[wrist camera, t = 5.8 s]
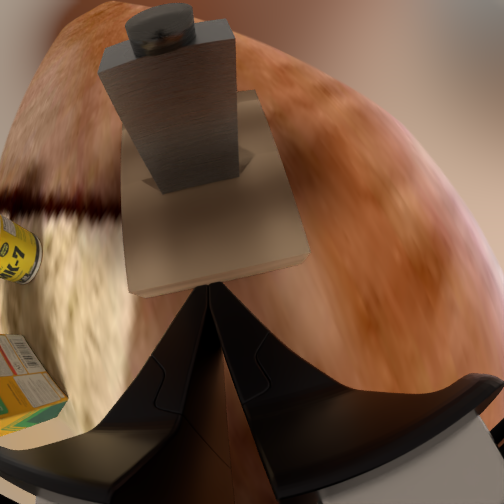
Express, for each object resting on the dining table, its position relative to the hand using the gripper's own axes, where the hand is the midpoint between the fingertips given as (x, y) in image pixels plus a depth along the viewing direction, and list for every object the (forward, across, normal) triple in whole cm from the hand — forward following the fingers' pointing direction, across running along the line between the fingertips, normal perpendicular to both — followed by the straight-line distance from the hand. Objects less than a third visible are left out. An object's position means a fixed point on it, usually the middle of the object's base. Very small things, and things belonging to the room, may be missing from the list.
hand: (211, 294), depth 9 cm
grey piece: (+11, 0, -2) cm, 11 cm away
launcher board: (+13, 0, 0) cm, 13 cm away
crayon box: (+5, +18, +9) cm, 20 cm away
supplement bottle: (+12, +18, +1) cm, 21 cm away
